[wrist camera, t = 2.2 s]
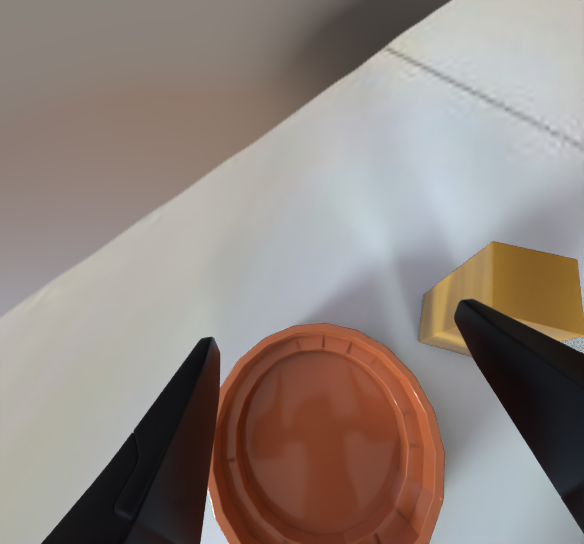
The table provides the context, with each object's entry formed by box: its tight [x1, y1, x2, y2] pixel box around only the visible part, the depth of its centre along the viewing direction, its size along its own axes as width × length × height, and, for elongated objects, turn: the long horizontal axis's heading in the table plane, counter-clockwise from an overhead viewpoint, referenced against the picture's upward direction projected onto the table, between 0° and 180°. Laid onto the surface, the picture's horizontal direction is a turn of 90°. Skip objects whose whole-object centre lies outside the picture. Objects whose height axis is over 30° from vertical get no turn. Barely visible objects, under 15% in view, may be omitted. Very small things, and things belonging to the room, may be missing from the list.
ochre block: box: [418, 241, 584, 356], centre depth 19 cm, size 4×4×10 cm
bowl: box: [208, 323, 445, 544], centre depth 19 cm, size 15×15×4 cm
